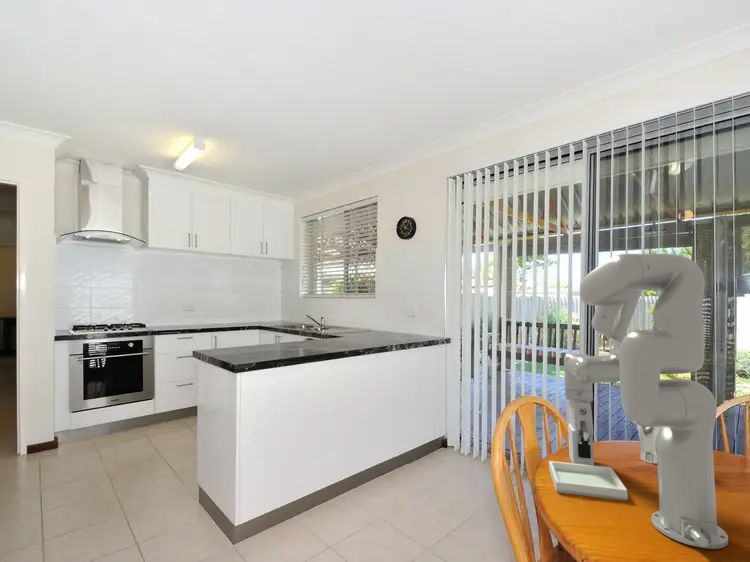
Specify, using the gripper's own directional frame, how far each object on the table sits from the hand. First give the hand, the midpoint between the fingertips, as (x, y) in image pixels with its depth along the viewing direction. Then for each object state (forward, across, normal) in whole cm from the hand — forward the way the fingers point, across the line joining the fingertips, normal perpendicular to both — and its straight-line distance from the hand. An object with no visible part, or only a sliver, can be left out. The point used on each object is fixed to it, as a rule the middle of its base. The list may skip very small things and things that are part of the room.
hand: (581, 451), depth 118 cm
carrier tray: (+3, -15, +2) cm, 15 cm away
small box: (+4, 0, 0) cm, 4 cm away
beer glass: (+4, +8, -21) cm, 23 cm away
